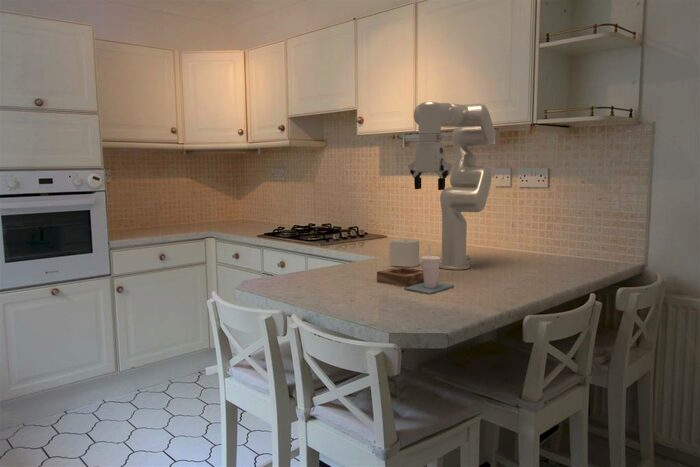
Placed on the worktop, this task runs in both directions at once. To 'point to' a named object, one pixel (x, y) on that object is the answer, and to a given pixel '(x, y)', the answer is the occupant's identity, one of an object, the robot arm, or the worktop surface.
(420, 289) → the mat
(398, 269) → the wooden square frame
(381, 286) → the worktop surface
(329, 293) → the worktop surface
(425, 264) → the smoothie
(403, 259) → the toilet tissue
